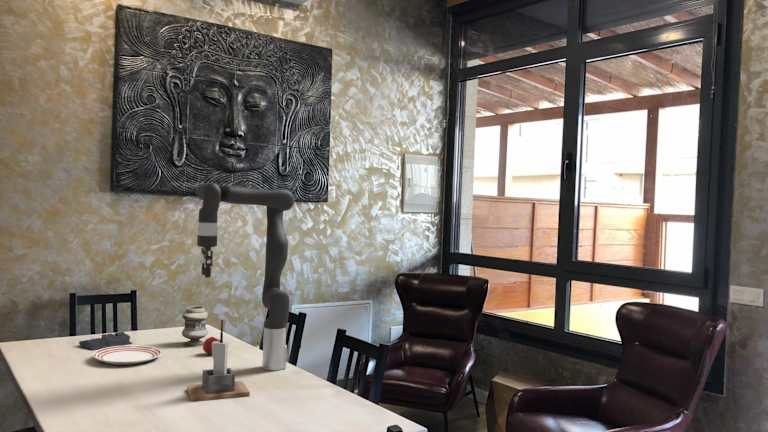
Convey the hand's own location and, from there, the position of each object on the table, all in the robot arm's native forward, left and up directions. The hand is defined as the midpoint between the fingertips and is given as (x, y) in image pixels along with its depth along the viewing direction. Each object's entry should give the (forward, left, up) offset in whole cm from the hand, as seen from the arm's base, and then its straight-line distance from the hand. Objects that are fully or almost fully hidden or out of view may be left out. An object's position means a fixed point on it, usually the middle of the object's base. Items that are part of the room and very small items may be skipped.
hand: (205, 276), depth 234 cm
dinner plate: (+26, -38, -41) cm, 61 cm away
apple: (-9, -37, -40) cm, 55 cm away
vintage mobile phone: (-3, +19, -39) cm, 43 cm away
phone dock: (-3, +19, -40) cm, 44 cm away
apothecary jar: (-4, -59, -40) cm, 72 cm away
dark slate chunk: (+35, -69, -41) cm, 87 cm away
